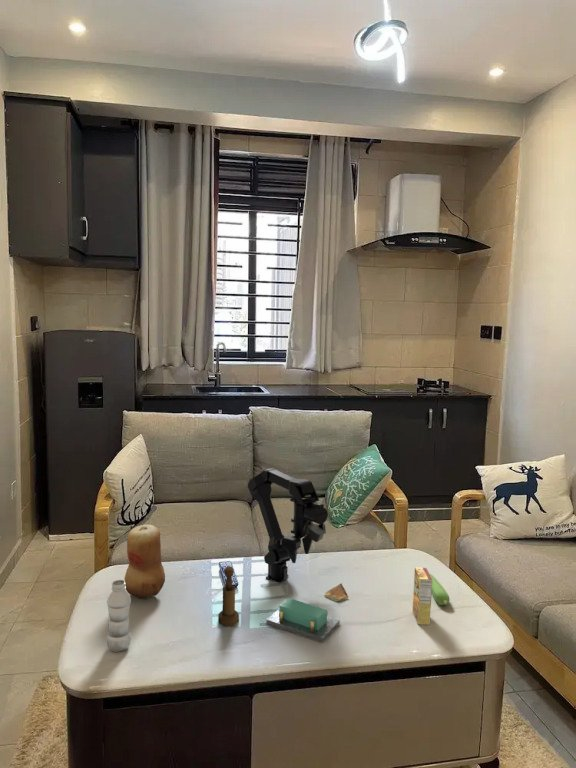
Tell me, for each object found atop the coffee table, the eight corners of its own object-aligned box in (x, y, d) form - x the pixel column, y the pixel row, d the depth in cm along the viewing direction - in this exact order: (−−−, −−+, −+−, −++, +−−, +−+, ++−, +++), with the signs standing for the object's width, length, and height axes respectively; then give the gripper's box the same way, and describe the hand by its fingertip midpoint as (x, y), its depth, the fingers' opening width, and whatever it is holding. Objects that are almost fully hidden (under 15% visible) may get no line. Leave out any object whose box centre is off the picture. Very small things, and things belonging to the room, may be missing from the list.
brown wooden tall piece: (242, 618, 183) (242, 564, 181) (233, 628, 177) (234, 573, 175) (223, 614, 185) (223, 561, 183) (214, 624, 179) (214, 569, 177)
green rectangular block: (279, 617, 181) (279, 605, 181) (288, 609, 186) (289, 597, 186) (317, 630, 174) (318, 618, 173) (326, 621, 179) (327, 609, 179)
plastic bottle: (109, 642, 168) (108, 577, 166) (133, 641, 168) (132, 577, 166) (104, 655, 161) (103, 588, 159) (129, 654, 162) (128, 587, 160)
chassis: (266, 623, 180) (266, 610, 179) (285, 607, 190) (285, 595, 190) (322, 642, 170) (322, 628, 170) (339, 624, 180) (339, 611, 180)
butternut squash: (116, 601, 193) (115, 530, 190) (140, 584, 205) (139, 517, 202) (150, 609, 187) (149, 536, 185) (173, 592, 200) (172, 523, 197)
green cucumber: (436, 596, 191) (449, 593, 191) (421, 572, 211) (433, 569, 211) (439, 611, 192) (452, 607, 192) (425, 585, 212) (437, 582, 212)
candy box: (411, 610, 190) (413, 567, 188) (424, 611, 190) (426, 567, 188) (417, 624, 181) (419, 579, 179) (430, 625, 181) (433, 579, 179)
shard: (340, 586, 207) (341, 582, 207) (358, 593, 203) (358, 588, 202) (323, 597, 199) (323, 592, 199) (341, 604, 194) (341, 599, 194)
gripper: (309, 528, 188) (307, 573, 190) (334, 513, 204) (332, 554, 206) (280, 521, 194) (279, 565, 195) (306, 507, 209) (305, 547, 211)
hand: (300, 558), depth 202 cm, fingers open, 9 cm apart
